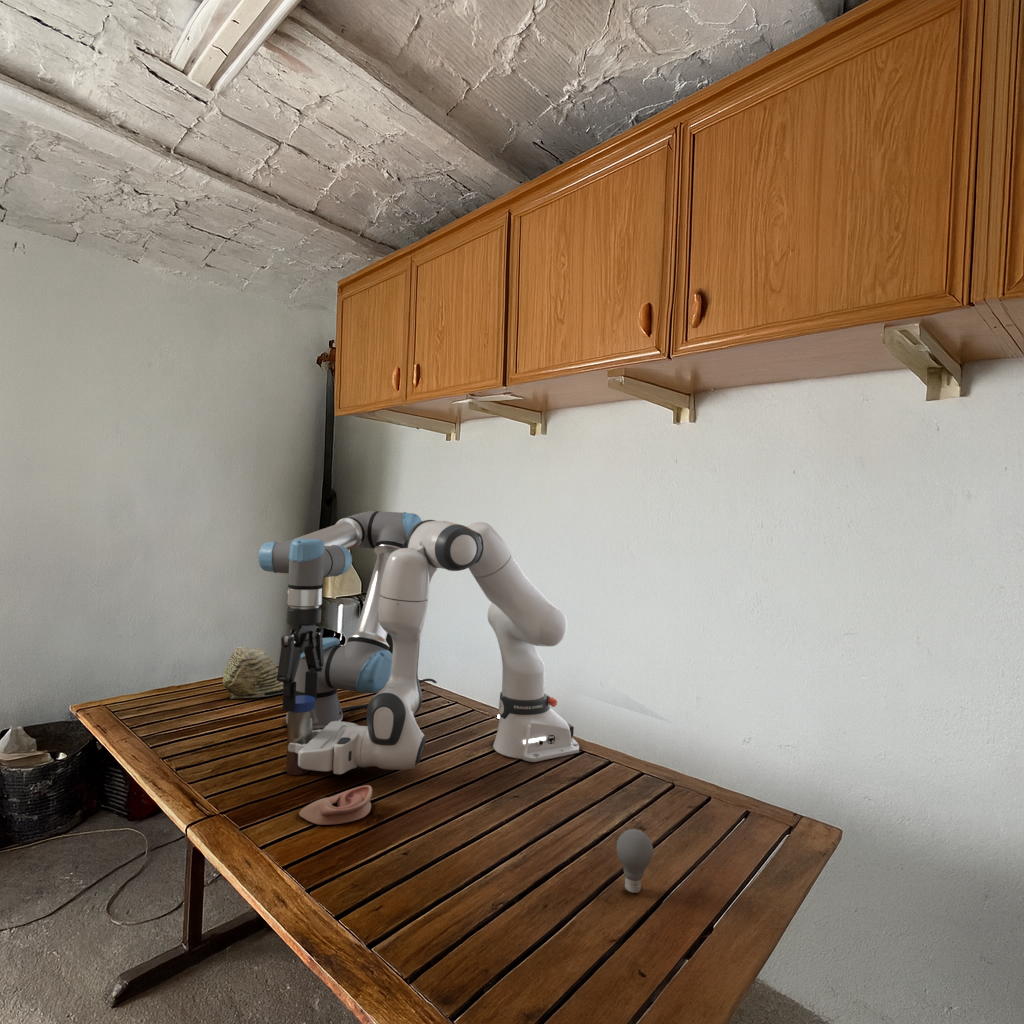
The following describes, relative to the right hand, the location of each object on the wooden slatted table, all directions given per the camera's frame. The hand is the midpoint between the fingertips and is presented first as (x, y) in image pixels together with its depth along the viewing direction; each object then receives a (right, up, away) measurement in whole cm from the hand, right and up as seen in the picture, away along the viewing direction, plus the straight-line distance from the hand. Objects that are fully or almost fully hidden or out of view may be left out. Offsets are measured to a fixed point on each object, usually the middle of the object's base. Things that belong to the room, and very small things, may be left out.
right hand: (295, 740), depth 146 cm
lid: (+1, +9, 0) cm, 9 cm away
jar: (+1, -7, 0) cm, 7 cm away
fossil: (-31, -4, +52) cm, 61 cm away
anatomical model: (+14, -8, -19) cm, 25 cm away
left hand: (+1, +8, -1) cm, 9 cm away
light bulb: (+70, -11, -40) cm, 82 cm away
